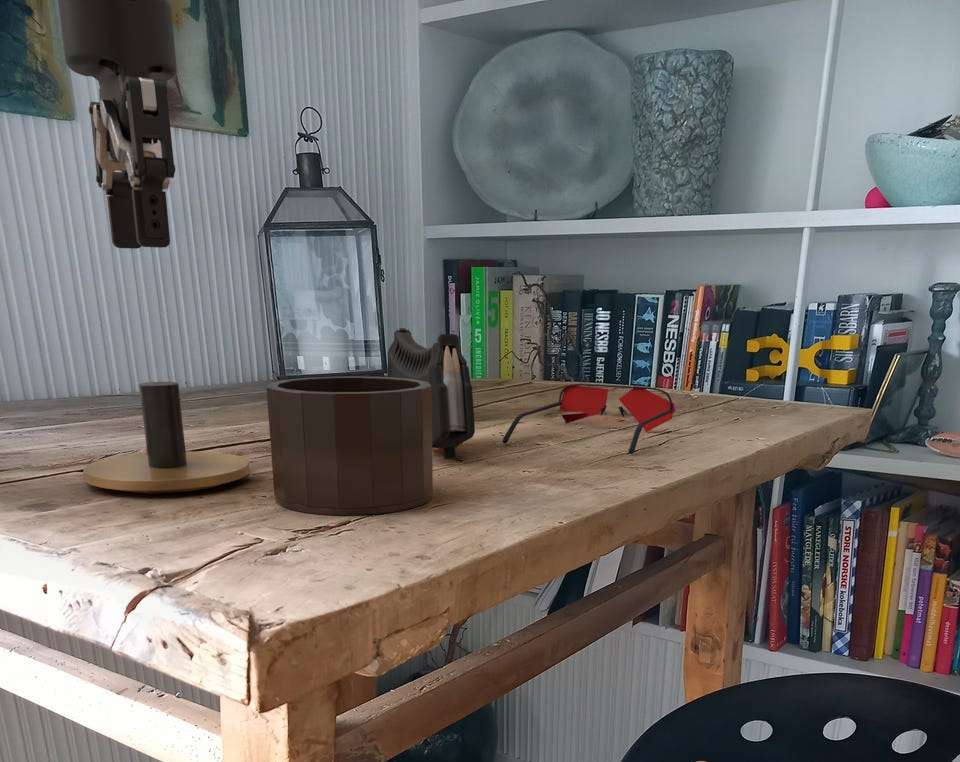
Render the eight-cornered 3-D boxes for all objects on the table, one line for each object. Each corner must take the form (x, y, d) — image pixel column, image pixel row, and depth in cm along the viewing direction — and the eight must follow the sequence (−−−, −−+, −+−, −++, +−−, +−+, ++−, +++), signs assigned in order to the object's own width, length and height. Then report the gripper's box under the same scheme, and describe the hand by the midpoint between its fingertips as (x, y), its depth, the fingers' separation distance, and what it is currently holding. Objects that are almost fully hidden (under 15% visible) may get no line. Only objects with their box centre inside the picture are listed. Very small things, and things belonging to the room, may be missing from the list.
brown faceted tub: (310, 522, 65) (302, 396, 62) (254, 490, 74) (245, 380, 71) (460, 503, 70) (459, 388, 67) (389, 476, 80) (387, 374, 77)
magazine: (381, 339, 111) (429, 255, 82) (408, 339, 112) (465, 256, 83) (392, 484, 112) (442, 452, 83) (418, 483, 113) (477, 451, 84)
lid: (102, 505, 69) (87, 396, 66) (73, 475, 79) (58, 379, 76) (271, 488, 75) (264, 387, 72) (224, 462, 86) (215, 373, 83)
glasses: (675, 432, 104) (679, 386, 102) (632, 455, 90) (636, 402, 88) (558, 424, 110) (560, 380, 108) (501, 444, 96) (502, 394, 94)
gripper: (41, 10, 69) (71, 247, 75) (75, -40, 58) (108, 244, 64) (145, 25, 73) (166, 250, 79) (197, -19, 61) (217, 248, 67)
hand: (140, 247), depth 71 cm, fingers open, 8 cm apart
